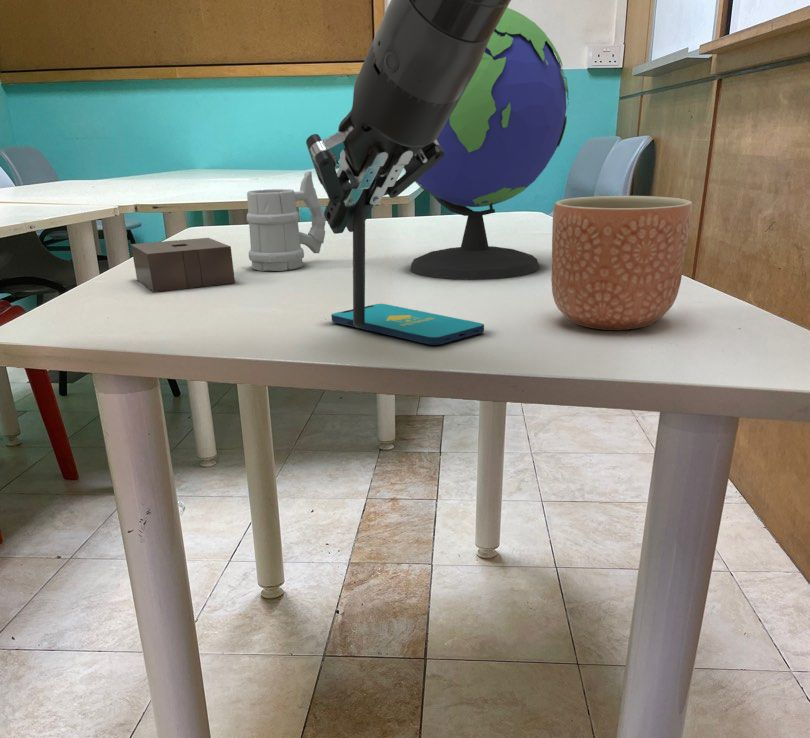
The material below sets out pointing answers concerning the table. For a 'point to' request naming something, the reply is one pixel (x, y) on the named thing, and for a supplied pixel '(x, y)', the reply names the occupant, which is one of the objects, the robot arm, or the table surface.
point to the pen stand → (183, 264)
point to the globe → (497, 146)
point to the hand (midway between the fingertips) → (340, 224)
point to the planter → (618, 258)
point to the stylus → (359, 262)
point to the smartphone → (412, 324)
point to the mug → (283, 226)
